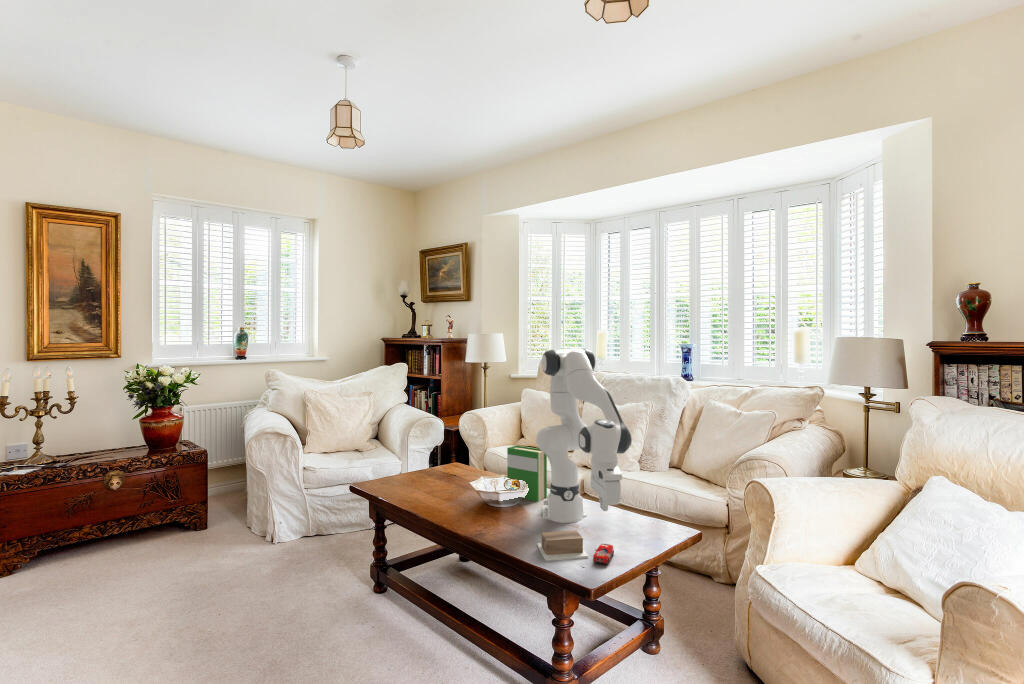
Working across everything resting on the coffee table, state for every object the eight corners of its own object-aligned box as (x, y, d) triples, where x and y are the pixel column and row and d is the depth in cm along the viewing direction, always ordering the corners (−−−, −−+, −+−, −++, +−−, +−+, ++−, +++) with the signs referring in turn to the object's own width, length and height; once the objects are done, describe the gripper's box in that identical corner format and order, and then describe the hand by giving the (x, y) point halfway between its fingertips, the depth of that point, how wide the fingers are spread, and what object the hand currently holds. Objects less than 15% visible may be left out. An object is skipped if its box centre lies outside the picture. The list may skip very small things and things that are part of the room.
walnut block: (541, 546, 192) (541, 532, 192) (576, 543, 194) (576, 530, 194) (546, 555, 184) (546, 540, 184) (582, 552, 186) (582, 538, 186)
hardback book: (546, 501, 250) (546, 449, 249) (537, 505, 244) (537, 452, 244) (517, 494, 261) (516, 445, 260) (507, 498, 255) (507, 447, 255)
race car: (607, 566, 176) (607, 554, 176) (591, 563, 178) (591, 551, 178) (616, 553, 188) (616, 541, 188) (600, 550, 190) (601, 539, 190)
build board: (537, 546, 195) (537, 543, 195) (576, 543, 197) (576, 540, 197) (545, 562, 181) (545, 558, 181) (588, 559, 183) (588, 555, 183)
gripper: (586, 461, 190) (585, 500, 190) (605, 477, 169) (604, 520, 170) (603, 460, 191) (603, 499, 191) (624, 476, 170) (623, 519, 171)
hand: (603, 509), depth 180 cm, fingers closed
